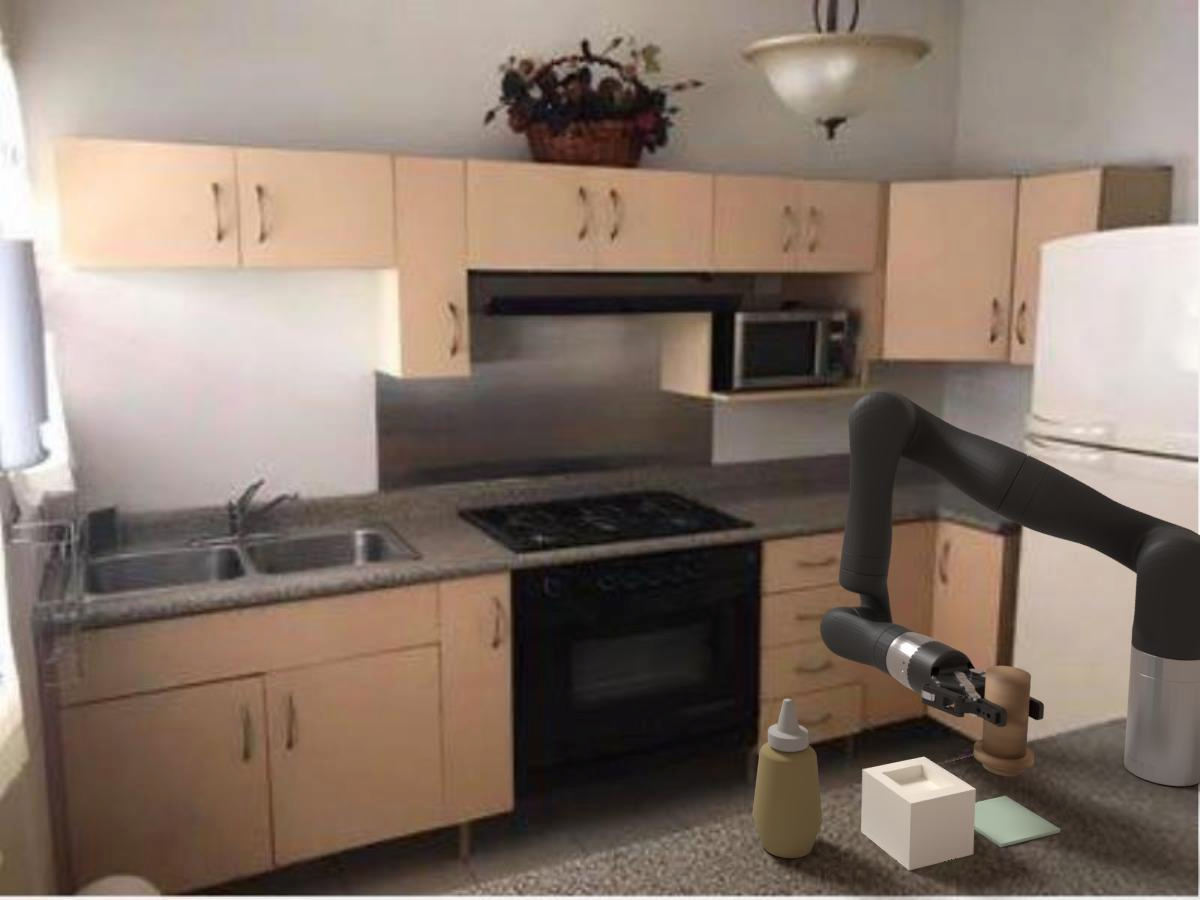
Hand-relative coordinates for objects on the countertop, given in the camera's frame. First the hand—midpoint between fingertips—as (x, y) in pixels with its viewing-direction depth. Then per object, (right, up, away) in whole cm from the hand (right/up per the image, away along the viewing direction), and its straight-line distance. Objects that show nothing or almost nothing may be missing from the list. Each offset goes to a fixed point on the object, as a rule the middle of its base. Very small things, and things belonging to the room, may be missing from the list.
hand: (1022, 715), depth 116 cm
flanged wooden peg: (-1, -7, +4) cm, 8 cm away
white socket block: (-13, -15, 0) cm, 20 cm away
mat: (-1, -14, +4) cm, 15 cm away
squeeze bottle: (-28, -16, -1) cm, 32 cm away
